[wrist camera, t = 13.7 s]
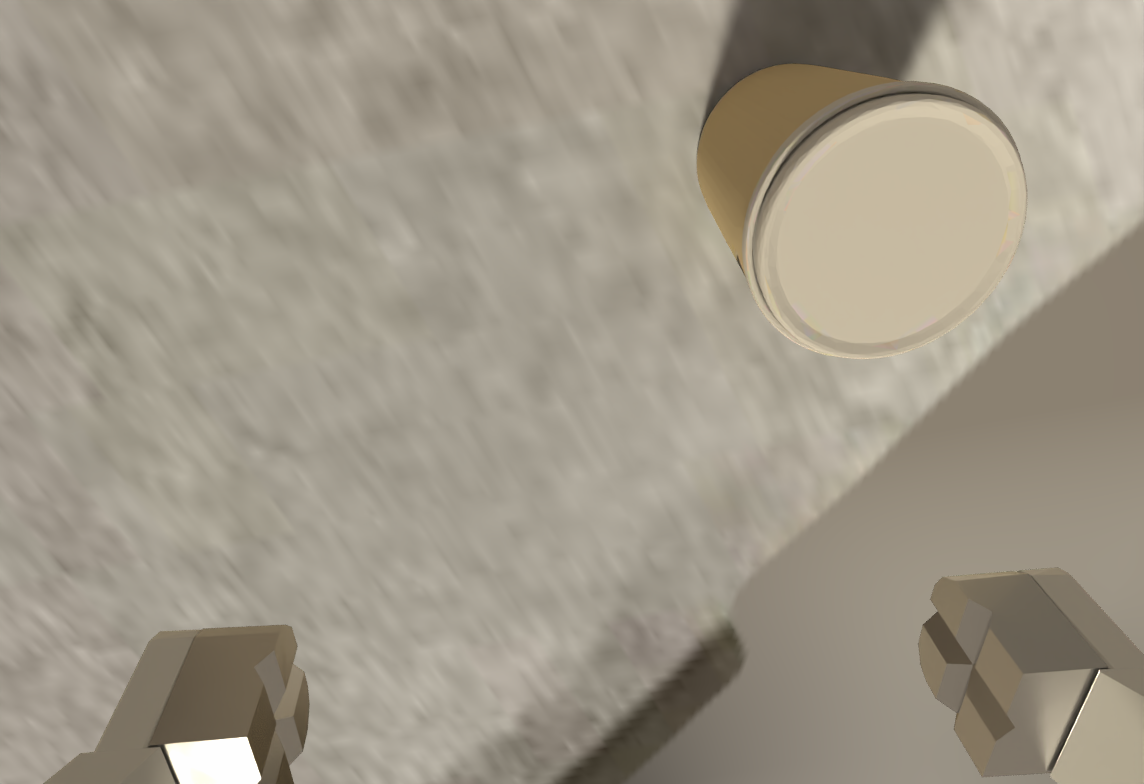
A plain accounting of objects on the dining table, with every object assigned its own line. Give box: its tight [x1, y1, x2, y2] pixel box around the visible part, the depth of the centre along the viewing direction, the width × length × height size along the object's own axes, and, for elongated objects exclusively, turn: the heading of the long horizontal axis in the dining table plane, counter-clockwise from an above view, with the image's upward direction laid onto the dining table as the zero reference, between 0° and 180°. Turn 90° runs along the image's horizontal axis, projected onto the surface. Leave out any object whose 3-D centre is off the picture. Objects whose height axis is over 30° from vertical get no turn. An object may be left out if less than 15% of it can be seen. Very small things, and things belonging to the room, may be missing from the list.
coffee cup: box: [697, 64, 1027, 359], centre depth 31 cm, size 9×9×12 cm
